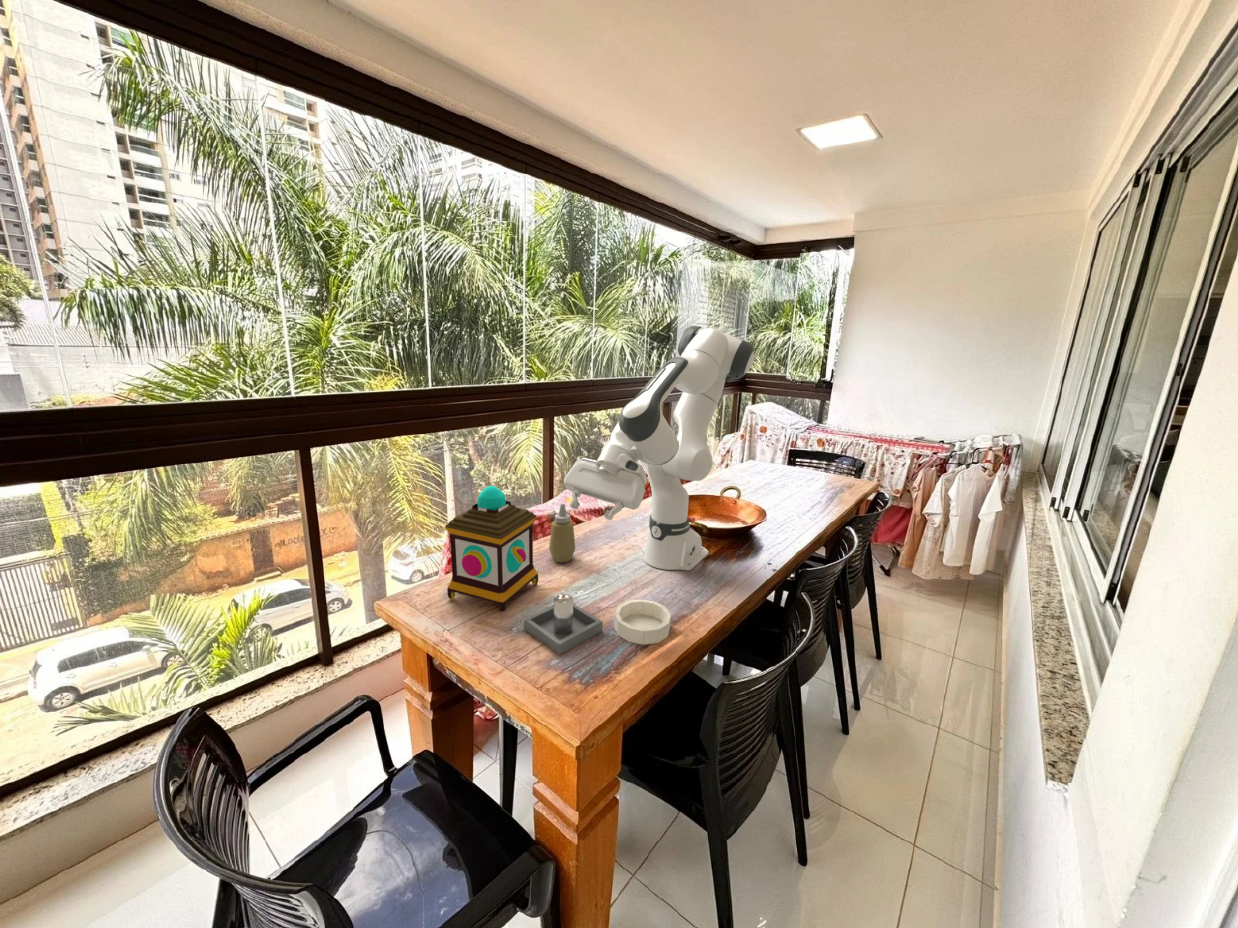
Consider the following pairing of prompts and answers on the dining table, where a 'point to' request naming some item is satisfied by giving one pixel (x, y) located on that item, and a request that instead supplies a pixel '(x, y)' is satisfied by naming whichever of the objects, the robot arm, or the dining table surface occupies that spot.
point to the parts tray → (544, 631)
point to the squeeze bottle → (562, 537)
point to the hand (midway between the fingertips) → (590, 513)
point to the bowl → (642, 621)
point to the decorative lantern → (492, 549)
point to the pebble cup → (563, 614)
